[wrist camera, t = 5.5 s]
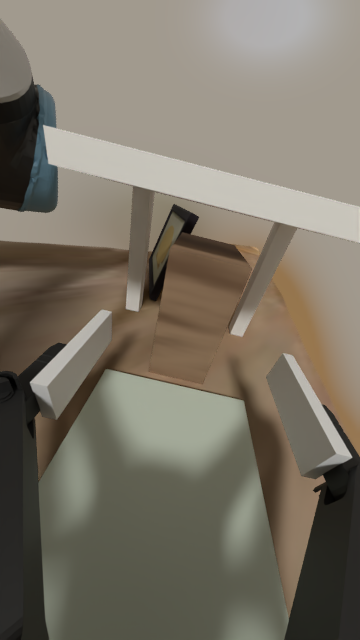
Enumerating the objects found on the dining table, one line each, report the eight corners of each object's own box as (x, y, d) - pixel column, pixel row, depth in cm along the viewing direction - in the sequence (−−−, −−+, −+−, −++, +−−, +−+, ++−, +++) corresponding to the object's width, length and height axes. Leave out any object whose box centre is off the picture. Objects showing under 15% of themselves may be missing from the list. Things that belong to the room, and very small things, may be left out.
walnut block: (202, 384, 20) (252, 268, 13) (148, 371, 20) (170, 248, 13) (202, 335, 28) (234, 245, 21) (163, 325, 27) (182, 232, 20)
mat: (303, 744, 7) (316, 753, 7) (-67, 674, 7) (-79, 679, 6) (240, 405, 19) (243, 400, 18) (106, 374, 18) (106, 368, 18)
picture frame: (148, 260, 52) (163, 199, 44) (179, 268, 54) (197, 213, 47) (148, 299, 33) (174, 206, 25) (194, 309, 35) (230, 227, 28)
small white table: (268, 411, 19) (427, 224, 9) (76, 367, 18) (42, 124, 9) (242, 330, 31) (301, 213, 22) (127, 302, 31) (135, 171, 21)
